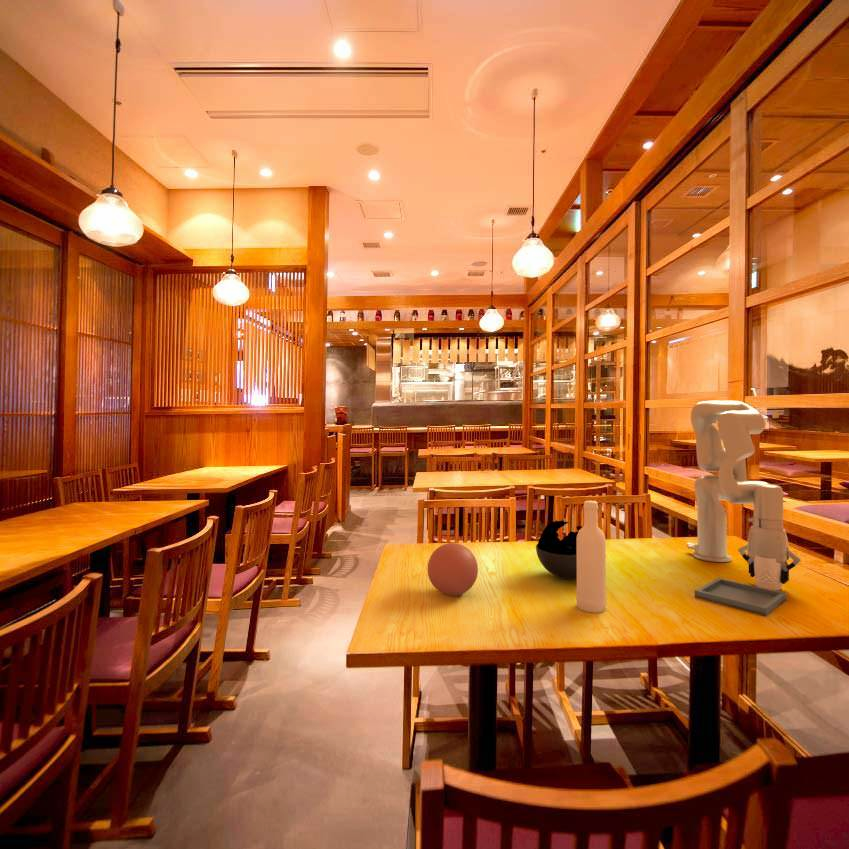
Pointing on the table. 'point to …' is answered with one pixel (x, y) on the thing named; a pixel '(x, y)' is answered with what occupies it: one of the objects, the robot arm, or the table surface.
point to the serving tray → (741, 596)
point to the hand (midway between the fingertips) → (768, 579)
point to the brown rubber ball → (452, 569)
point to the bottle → (591, 562)
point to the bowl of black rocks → (558, 551)
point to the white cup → (767, 573)
